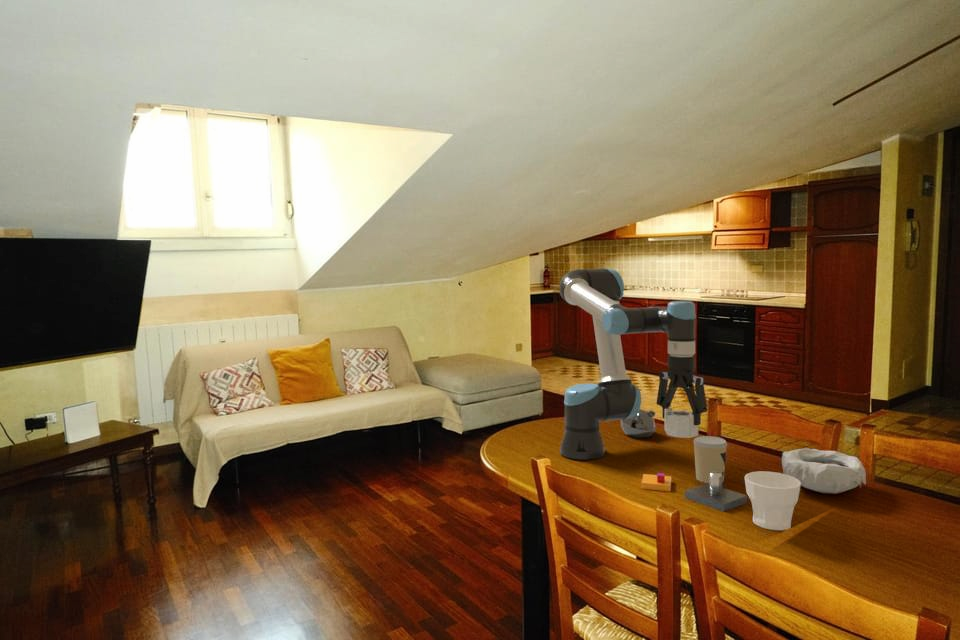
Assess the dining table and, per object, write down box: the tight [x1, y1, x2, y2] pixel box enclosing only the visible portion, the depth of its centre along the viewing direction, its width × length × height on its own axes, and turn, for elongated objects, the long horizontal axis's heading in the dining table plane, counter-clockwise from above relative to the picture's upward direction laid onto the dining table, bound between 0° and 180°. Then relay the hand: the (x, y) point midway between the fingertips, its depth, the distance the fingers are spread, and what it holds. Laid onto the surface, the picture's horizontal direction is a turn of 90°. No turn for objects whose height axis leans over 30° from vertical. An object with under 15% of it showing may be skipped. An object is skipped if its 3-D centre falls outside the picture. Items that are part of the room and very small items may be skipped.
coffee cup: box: [692, 435, 728, 484], centre depth 178 cm, size 9×9×12 cm
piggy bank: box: [620, 408, 656, 439], centre depth 221 cm, size 11×15×12 cm
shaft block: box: [684, 472, 748, 513], centre depth 162 cm, size 12×10×8 cm
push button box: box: [641, 472, 672, 492], centre depth 174 cm, size 8×8×4 cm
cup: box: [743, 470, 802, 531], centre depth 146 cm, size 12×12×11 cm
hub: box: [665, 409, 693, 439], centre depth 173 cm, size 8×8×6 cm
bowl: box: [781, 447, 867, 495], centre depth 167 cm, size 21×20×10 cm
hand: (681, 432), depth 174 cm, fingers closed on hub, 8 cm apart
